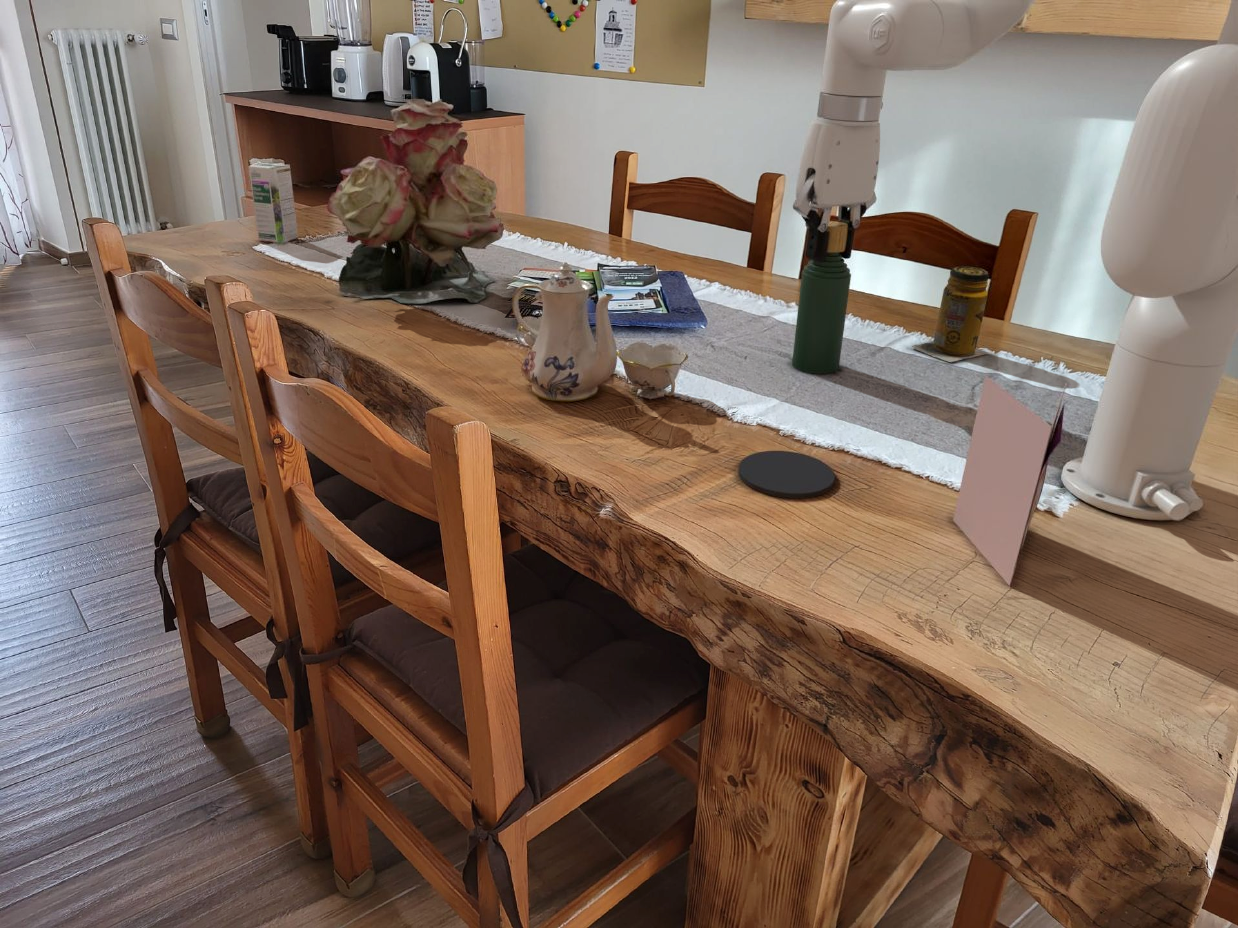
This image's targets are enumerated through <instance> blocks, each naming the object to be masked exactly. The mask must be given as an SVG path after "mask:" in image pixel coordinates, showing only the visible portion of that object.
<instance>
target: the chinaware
mask: <svg viewBox="0 0 1238 928" xmlns="http://www.w3.org/2000/svg"><path fill="white" fill-rule="evenodd" d="M558 270H559V271H558V272H555V273H553V274H552V275H551V278H550V279H545V280H544V279H543V280H542V281H540V282H538V284H537V283H531V282H529V283H525V284H523V285H520V286H518V288H517V289H516V290H515V292H514V294H513V296H512V302H511V308H512V313H513V316H514V318H515V320H516V322H517V323H518V325H517V326H516V329H515V337H516V339H517V341H518V343H519V344H521V345H522V346H524V347H528V348H529V349H530V351H529V352H528V353H527V355H526V357H525V358H524V360H523V362H522V364H521V367H520V371H521V374H522V376H523V377H524V378H525V379H526V380H527V381H528V382H529V383H530V384H531V385H532V386H531V392H532V393H533V394H534V395H535V396H537V397H538V398H540V399H543V400H547V401H553V402H559V403H560V402H562V403H568V402H569V403H570V402H571V403H572V402H579V401H585V400H588V399H591V398H592V397H594V396H595V395H596V394H597V393H598V391H599V387H598V386H599V385H601V384H602V383H603V382H604V381H606V380H607V379H609V378H610V377H611V376H612V375H613V374H614V373H615V370H616V368H617V363H618V358H619V359H620V361H621V363H622V366H623V369H624V373H625V376H626V377H627V379H628V381H629V382H630V383H631V384H632V386H634V387H635V388H637V394H636V395H637V397H642V398H644V399H649V400H652V399H658V398H663V397H665V396H667V397H671V396H672V395H674V393H675V390H676V379H677V377H678V375H679V373H680V370H681V367H682V366H683V363H685V362H686V361H688V359H689V354H687V353H686V352H681V351H680V350H679V349H678V347H677V346H676V345H673V344H671V343H660V344H657V345H654V346H653V345H651V344H649V343H646V342H634V343H631V344H630V345H628V346H627V347H626V348H625V349H619V350H618V349H617V348H618V347H617V343H616V338H615V335H614V332H613V329H612V325H611V320H610V317H609V316H610V315H609V311H608V307H609V303H610V301H612V299H613V298H614V297H615V295H614V294H613V293H604V294H603V295H602V296H600V297H599V298H598V301H597V303H596V305H595V332H596V336H595V337H596V341H595V339H594V336H593V332H592V329H591V325H590V321H589V314H588V313H589V312H588V301H589V296H590V291H591V289H592V288H593V287H592V286H593V284H592V283H590V282H589V281H587V280H584V279H580V277H579V276H578V275H577V273H575V272H572V270H573V269H572V267H570V264H569V263H568V262H567V261H564V262H563V263H562V264H561V266H560V267H559V268H558ZM527 289H537V290H540V291H539V292H536V293H535V294H534V298H535V299H536V300H537V301H542V311H541V315H540V316H538V317H535V316H531V315H529V316H523V317H522V314H521V312H520V307H519V299H520V295H521V294H522V292H523V291H525V290H527ZM519 331H520V332H522V333H523V340H522V339H521V338H520V335H519V333H520V332H519ZM668 387H670V392H669V393H668V392H667V391H666V390H665V389H668Z"/></svg>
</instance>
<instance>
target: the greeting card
mask: <svg viewBox="0 0 1238 928" xmlns="http://www.w3.org/2000/svg"><path fill="white" fill-rule="evenodd" d="M1066 386H1067V383H1065V385H1064V388H1063V390H1062V394H1061V397H1060V400H1059V403H1058V406H1057V409H1056V412H1055V415H1054V419H1053V421H1052V424H1051V425H1050V424H1049V423H1048V422H1047V421H1046V420H1044V419H1043V418H1042V417H1040V416H1039V415H1037V414H1036V413H1035V412H1033V411H1032V410H1031V409H1030V408H1028V407H1027V406H1026V405H1025V404H1023V403H1022V402H1021V401H1020V400H1018V399H1017V398H1016V397H1014V396H1013V395H1012V394H1011V393H1009V392H1008V391H1007V390H1006V389H1004V388H1003V387H1002V386H1000V385H999V384H998V383H997V382H995V381H994V380H992V379H991V378H990V377H989V376H987V375H986V374H985V375H984V379H983V384H982V388H981V393H980V397H979V402H978V407H977V410H976V415H975V419H974V424H973V428H972V434H971V437H970V441H969V447H968V451H967V455H966V460H965V463H964V469H963V473H962V478H961V483H960V487H959V491H958V495H957V500H956V504H955V510H954V514H953V518H952V521H953V522H954V523H955V525H957V527H958V528H959V529H960V531H962V533H963V534H964V535H965V536H966V537H967V538H968V539H969V541H971V543H972V545H974V546H975V548H976V549H977V550H978V551H979V552H980V553H981V555H982V557H984V558H985V559H986V561H987V562H988V563H989V564H990V565H991V567H993V569H994V570H995V571H996V572H997V573H998V575H999V576H1000V577H1001V578H1002V579H1003V580H1004V582H1005V583H1006V584H1007V585H1008V586H1009V587H1010V586H1011V585H1012V581H1013V578H1014V575H1015V571H1016V568H1017V565H1018V562H1019V559H1020V557H1021V553H1022V550H1023V546H1024V542H1025V539H1026V537H1027V534H1028V531H1029V527H1030V524H1031V522H1032V520H1033V517H1034V515H1035V512H1036V510H1037V507H1038V504H1039V502H1040V499H1041V496H1042V493H1043V489H1044V485H1045V480H1046V475H1047V469H1048V464H1049V460H1050V459H1049V458H1050V456H1051V455H1052V454H1053V452H1054V451H1055V450H1056V448H1057V447H1058V446H1059V444H1060V443H1061V441H1062V433H1063V423H1064V412H1065V402H1063V397H1064V395H1065V394H1064V393H1065V390H1066ZM1062 402H1063V405H1062ZM1061 406H1062V407H1061Z"/></svg>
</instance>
